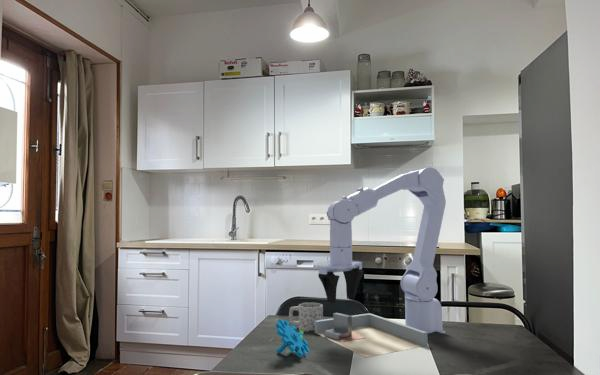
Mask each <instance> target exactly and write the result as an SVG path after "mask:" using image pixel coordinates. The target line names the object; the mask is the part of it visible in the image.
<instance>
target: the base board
mask: <svg viewBox="0 0 600 375" xmlns="http://www.w3.org/2000/svg"><path fill="white" fill-rule="evenodd" d="M316 335H319V336H321V337H323V338H325V339H327V340H329V341H331V342H333V343H334V344H337V345H339V346H341V347H343V348H345V349H347V350H349V351H350V352H351V351H352V352H354V354H357V355H360V356H361V357H363V358H365V359H367V358H372V357H377V356H382V355H387V354H392V353H397V352H402V351H408V350H411V349H416V348H418V349H419V348H422V347H424V346H422V345H420V344H417V343H414V342H412V341H409V340H406V339H404V338H401V337H398V336H396V335H393V334H390V333H388V332H385V331H382V330H380V329H377V328H374V327H372V326H363V327H357V328H352V336H351V337H347V338H344V339H341V340H336V339H333V338H329V337H326V336H324V333H316ZM428 345H429V344H428ZM428 345H427V346H428ZM427 346H426V347H427Z"/></svg>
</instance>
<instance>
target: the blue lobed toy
mask: <svg viewBox="0 0 600 375" xmlns="http://www.w3.org/2000/svg"><path fill="white" fill-rule="evenodd" d="M290 324H291V323H290V321H288V320H287V319H285V320H284V319H282V318H280V319H278V321H277V323H276V324H275V327H276V328H277V330H276V334H277V335H278V336H279V337H280V336H281V339H280V340H281V342H282V345H280V346H279V348H277V350H276V353H277V354H278V355H280V354H281V353H282V352H283V351H284V350H285V349H286V348H287V349H288V350H289V351H290V353H293V352H295V351H296V352H295V354H296V356H297V357H299V358H301V357H304V358H307V356H306V355H307V354H308V352H310V350H311V349H310V347H308V345H309V343H308V341H307V340H306V339H303V338H304V332H303V331H302V330H300V331H299V330H298V331H296V330H297V329H298V328H297V327H296V325H294V324H292V325H291V326H290Z"/></svg>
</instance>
